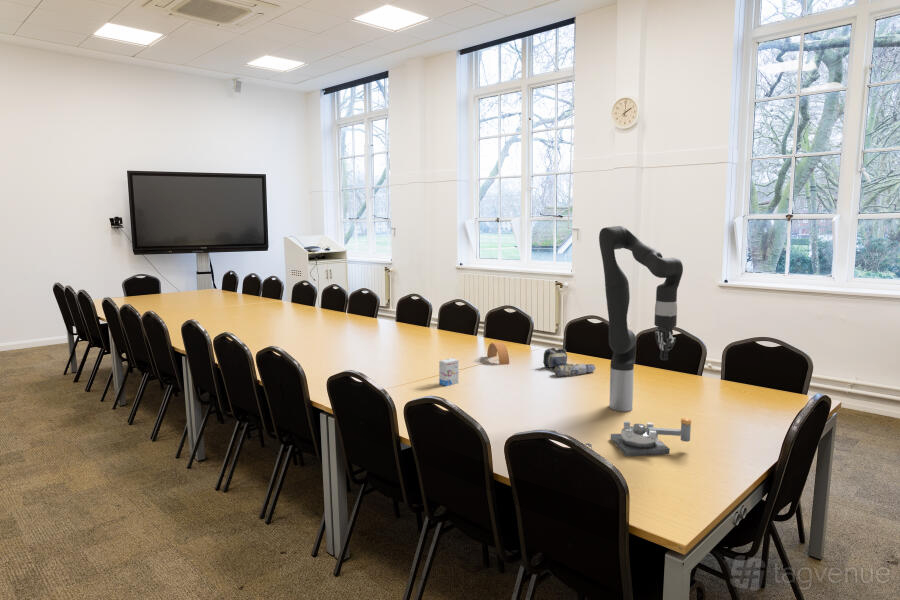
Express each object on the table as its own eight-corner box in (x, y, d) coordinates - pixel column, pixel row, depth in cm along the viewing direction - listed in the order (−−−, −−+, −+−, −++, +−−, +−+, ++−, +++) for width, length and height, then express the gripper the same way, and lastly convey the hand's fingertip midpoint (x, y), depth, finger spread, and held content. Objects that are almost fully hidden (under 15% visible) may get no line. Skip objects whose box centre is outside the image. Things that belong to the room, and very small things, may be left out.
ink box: (445, 386, 276) (445, 362, 274) (439, 384, 279) (438, 360, 278) (459, 383, 281) (458, 359, 280) (452, 380, 285) (451, 357, 283)
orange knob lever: (686, 437, 203) (687, 414, 202) (693, 450, 191) (694, 426, 190) (619, 433, 208) (620, 410, 207) (622, 446, 196) (623, 422, 195)
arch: (499, 365, 314) (499, 347, 313) (487, 356, 334) (487, 339, 332) (509, 364, 316) (509, 346, 315) (496, 355, 335) (496, 339, 334)
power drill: (536, 368, 307) (536, 348, 306) (572, 364, 316) (572, 344, 314) (559, 378, 287) (560, 357, 285) (597, 373, 296) (598, 352, 294)
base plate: (610, 439, 208) (610, 433, 208) (651, 437, 209) (651, 432, 209) (625, 456, 193) (625, 450, 193) (669, 454, 194) (669, 448, 194)
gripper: (647, 310, 215) (646, 356, 218) (664, 316, 202) (662, 364, 205) (667, 310, 216) (665, 355, 219) (684, 316, 203) (682, 364, 206)
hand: (663, 359), depth 212 cm, fingers closed
